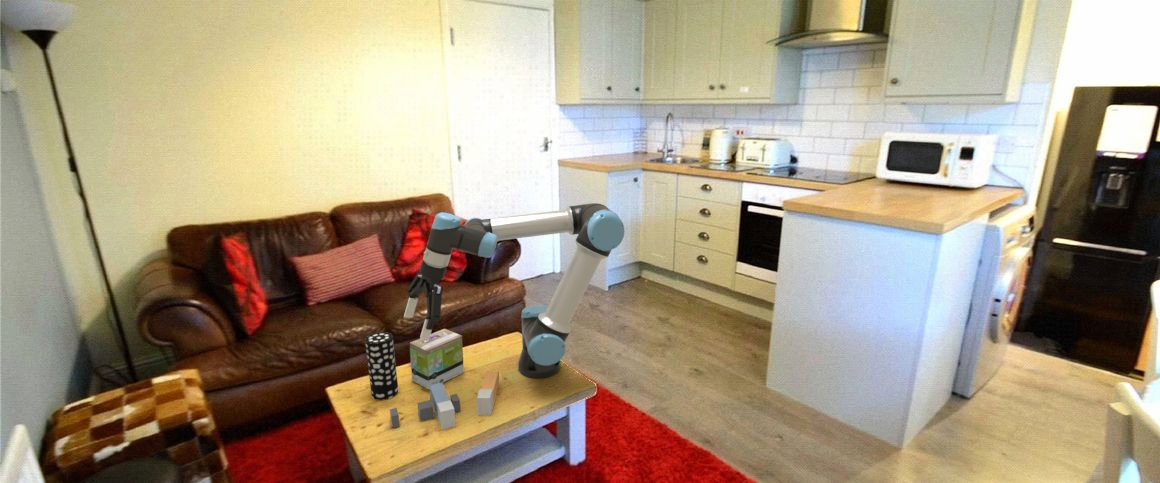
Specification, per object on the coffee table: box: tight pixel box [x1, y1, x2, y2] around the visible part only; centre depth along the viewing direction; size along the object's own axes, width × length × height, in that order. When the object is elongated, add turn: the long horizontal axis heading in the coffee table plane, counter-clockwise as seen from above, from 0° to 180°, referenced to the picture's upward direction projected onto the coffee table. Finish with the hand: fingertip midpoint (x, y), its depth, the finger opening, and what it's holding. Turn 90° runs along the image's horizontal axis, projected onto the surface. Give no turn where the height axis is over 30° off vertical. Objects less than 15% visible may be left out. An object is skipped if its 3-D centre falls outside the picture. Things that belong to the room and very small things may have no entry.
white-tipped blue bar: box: [429, 382, 456, 431], centre depth 163 cm, size 4×18×6 cm, turn 25°
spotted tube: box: [364, 331, 399, 401], centre depth 171 cm, size 8×8×20 cm
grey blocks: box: [389, 393, 461, 429], centre depth 161 cm, size 20×4×4 cm, turn 115°
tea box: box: [409, 328, 465, 391], centre depth 182 cm, size 15×10×15 cm
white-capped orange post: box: [476, 370, 500, 416], centre depth 170 cm, size 4×18×6 cm, turn 0°
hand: (416, 327), depth 162 cm, fingers open, 13 cm apart
